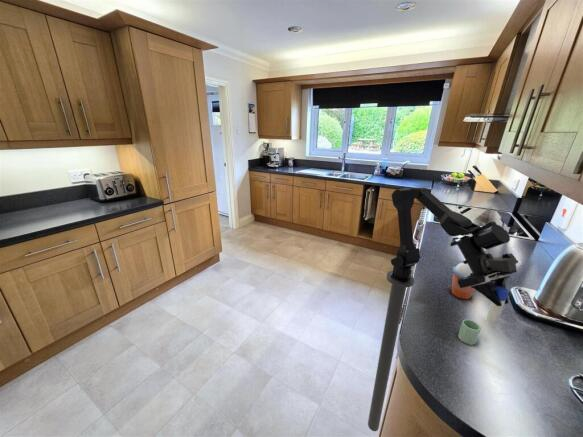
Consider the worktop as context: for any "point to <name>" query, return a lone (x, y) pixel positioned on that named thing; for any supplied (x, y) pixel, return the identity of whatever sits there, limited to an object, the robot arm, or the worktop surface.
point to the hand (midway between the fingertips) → (503, 304)
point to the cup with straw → (460, 272)
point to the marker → (496, 310)
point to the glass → (469, 331)
